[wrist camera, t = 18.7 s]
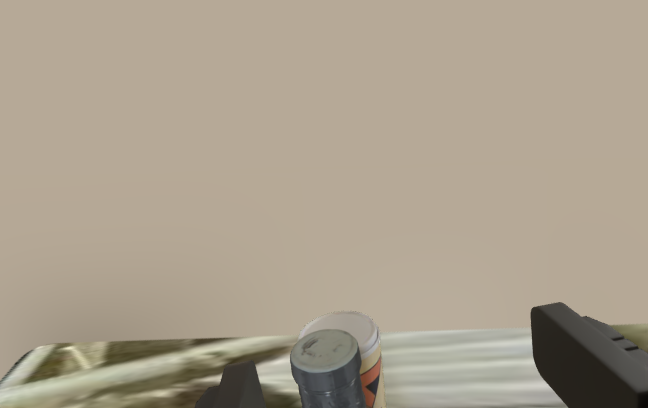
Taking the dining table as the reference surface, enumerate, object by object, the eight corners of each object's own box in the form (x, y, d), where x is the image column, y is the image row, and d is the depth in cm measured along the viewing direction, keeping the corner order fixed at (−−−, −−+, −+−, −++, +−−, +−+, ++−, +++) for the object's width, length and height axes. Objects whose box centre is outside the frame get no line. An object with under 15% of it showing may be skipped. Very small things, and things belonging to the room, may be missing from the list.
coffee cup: (327, 468, 42) (305, 368, 39) (307, 408, 51) (288, 323, 48) (408, 436, 44) (393, 339, 41) (375, 384, 52) (361, 301, 50)
